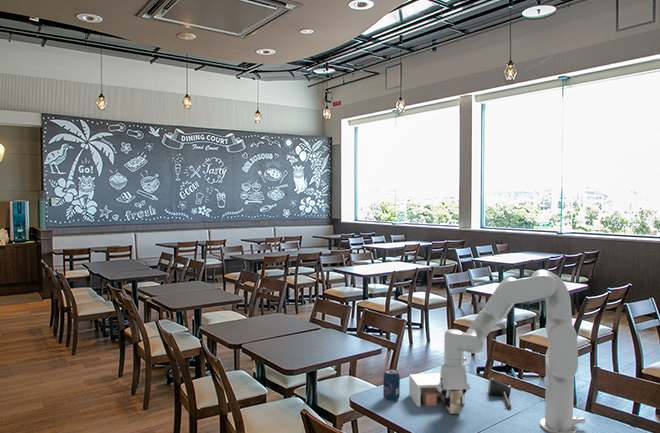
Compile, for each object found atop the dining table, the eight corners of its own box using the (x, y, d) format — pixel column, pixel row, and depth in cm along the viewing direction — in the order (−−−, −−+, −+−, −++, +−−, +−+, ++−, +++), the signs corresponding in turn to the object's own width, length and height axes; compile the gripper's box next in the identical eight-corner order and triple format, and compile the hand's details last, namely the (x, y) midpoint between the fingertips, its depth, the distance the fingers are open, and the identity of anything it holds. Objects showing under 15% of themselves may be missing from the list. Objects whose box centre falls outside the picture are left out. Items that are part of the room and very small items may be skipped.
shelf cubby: (453, 392, 213) (454, 372, 213) (464, 404, 202) (465, 383, 201) (409, 394, 211) (409, 374, 210) (417, 406, 199) (417, 385, 198)
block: (433, 400, 205) (433, 390, 205) (436, 405, 201) (436, 394, 200) (422, 401, 205) (422, 390, 204) (426, 405, 200) (426, 395, 200)
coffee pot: (487, 389, 216) (507, 393, 214) (488, 411, 199) (510, 417, 197) (490, 373, 215) (510, 378, 212) (492, 395, 198) (513, 400, 196)
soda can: (379, 398, 207) (380, 371, 206) (390, 394, 212) (390, 367, 211) (392, 403, 202) (392, 375, 201) (402, 399, 206) (403, 371, 206)
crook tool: (444, 395, 209) (444, 374, 209) (460, 413, 192) (460, 391, 191) (428, 396, 208) (428, 375, 208) (442, 414, 191) (443, 392, 191)
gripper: (469, 357, 198) (469, 400, 199) (430, 358, 196) (430, 402, 197) (477, 363, 190) (476, 408, 191) (436, 365, 188) (436, 411, 189)
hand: (453, 405), depth 194 cm, fingers closed on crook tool, 4 cm apart
